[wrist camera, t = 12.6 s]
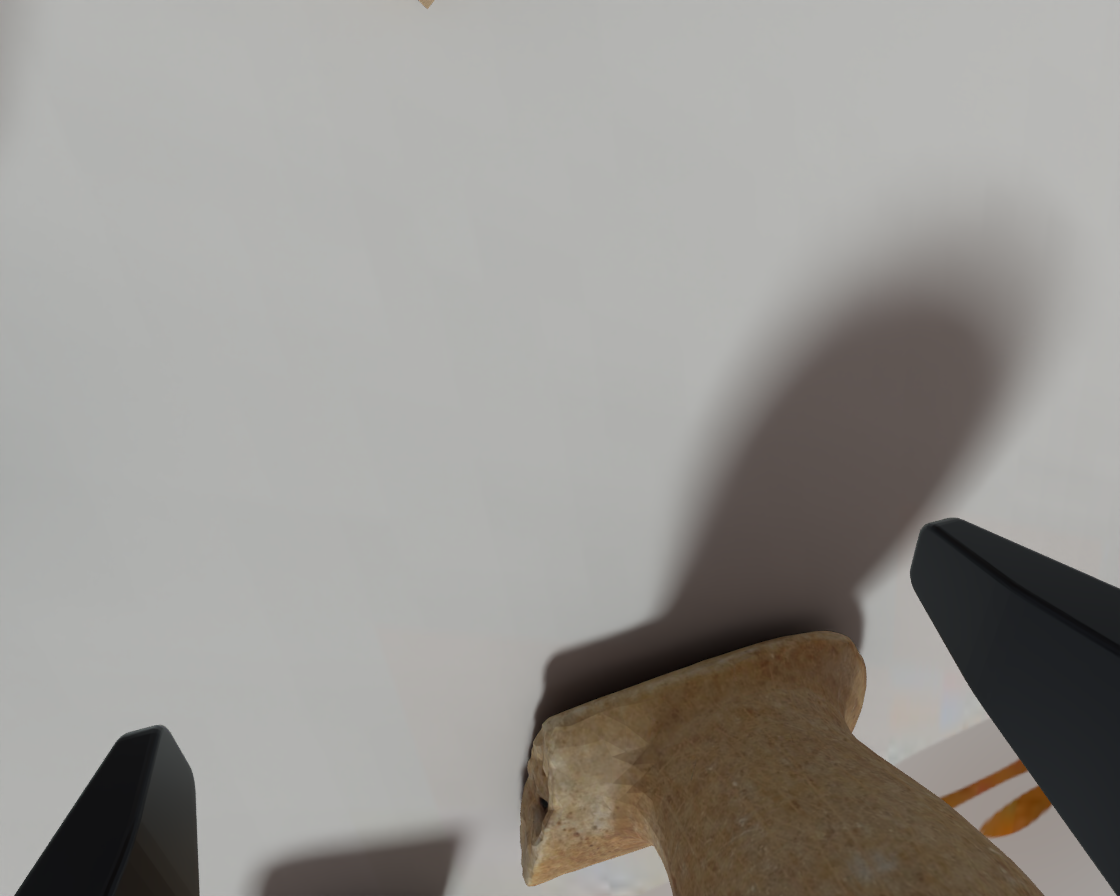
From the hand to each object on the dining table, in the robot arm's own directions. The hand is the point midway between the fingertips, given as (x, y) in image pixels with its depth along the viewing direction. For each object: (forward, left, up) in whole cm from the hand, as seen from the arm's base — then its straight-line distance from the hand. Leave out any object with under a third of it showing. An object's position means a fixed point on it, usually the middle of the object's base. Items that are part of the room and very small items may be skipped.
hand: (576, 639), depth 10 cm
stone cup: (+7, -21, -13) cm, 26 cm away
